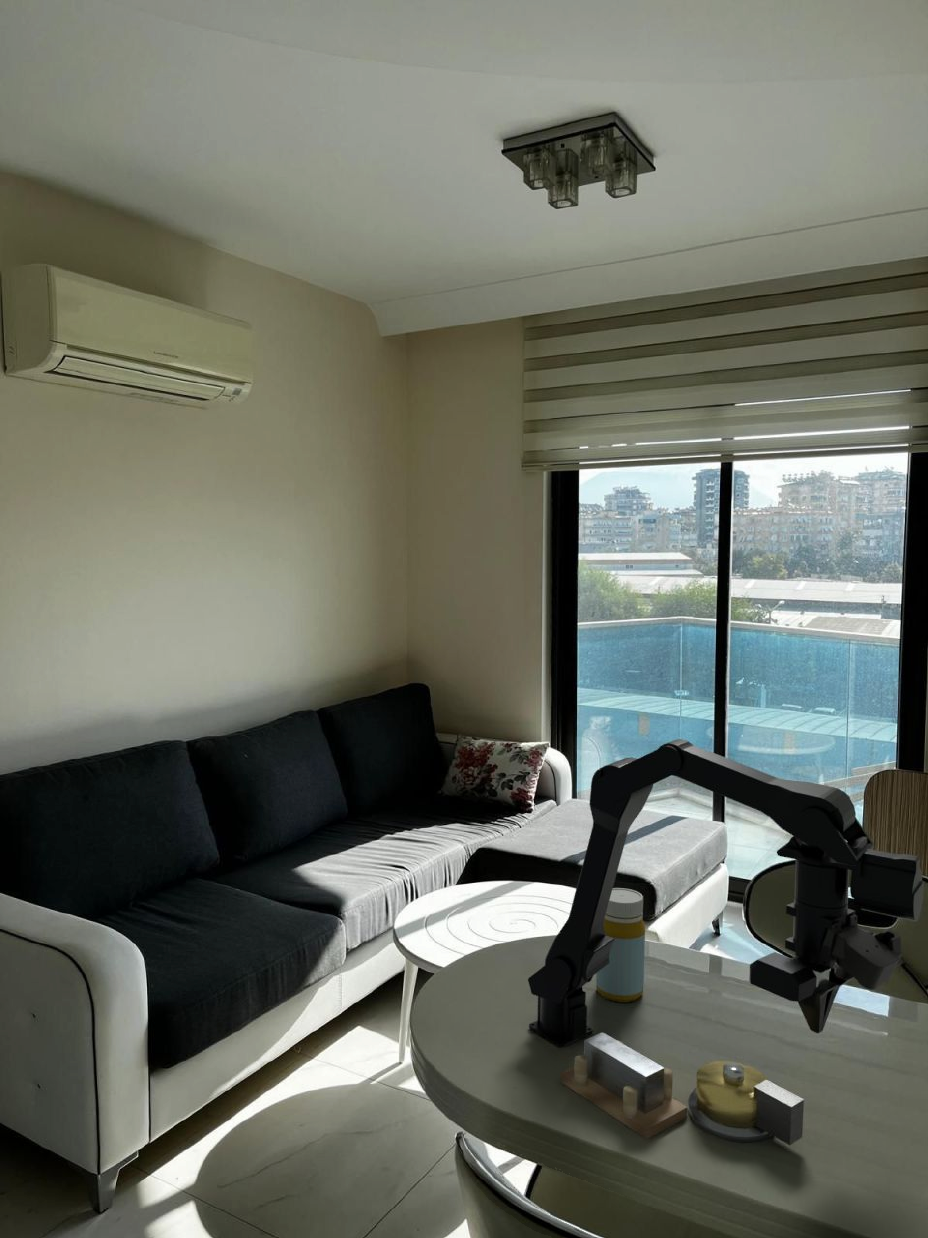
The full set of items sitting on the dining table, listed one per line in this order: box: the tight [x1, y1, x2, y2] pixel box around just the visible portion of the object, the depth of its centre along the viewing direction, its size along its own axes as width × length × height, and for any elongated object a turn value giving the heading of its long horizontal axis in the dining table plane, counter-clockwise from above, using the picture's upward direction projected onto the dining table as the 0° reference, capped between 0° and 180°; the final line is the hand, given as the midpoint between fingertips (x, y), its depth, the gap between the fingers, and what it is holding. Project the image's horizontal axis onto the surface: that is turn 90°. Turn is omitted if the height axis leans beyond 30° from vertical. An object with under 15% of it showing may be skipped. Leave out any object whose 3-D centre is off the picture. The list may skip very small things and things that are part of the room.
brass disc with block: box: [695, 1060, 805, 1146], centre depth 108 cm, size 13×8×4 cm
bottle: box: [595, 887, 646, 1003], centre depth 139 cm, size 7×7×15 cm
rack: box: [560, 1039, 688, 1140], centre depth 112 cm, size 14×8×4 cm, turn 38°
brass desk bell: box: [687, 1062, 772, 1143], centre depth 109 cm, size 10×10×6 cm
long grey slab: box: [583, 1032, 665, 1114], centre depth 112 cm, size 10×3×4 cm, turn 38°
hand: (816, 1031), depth 107 cm, fingers closed
